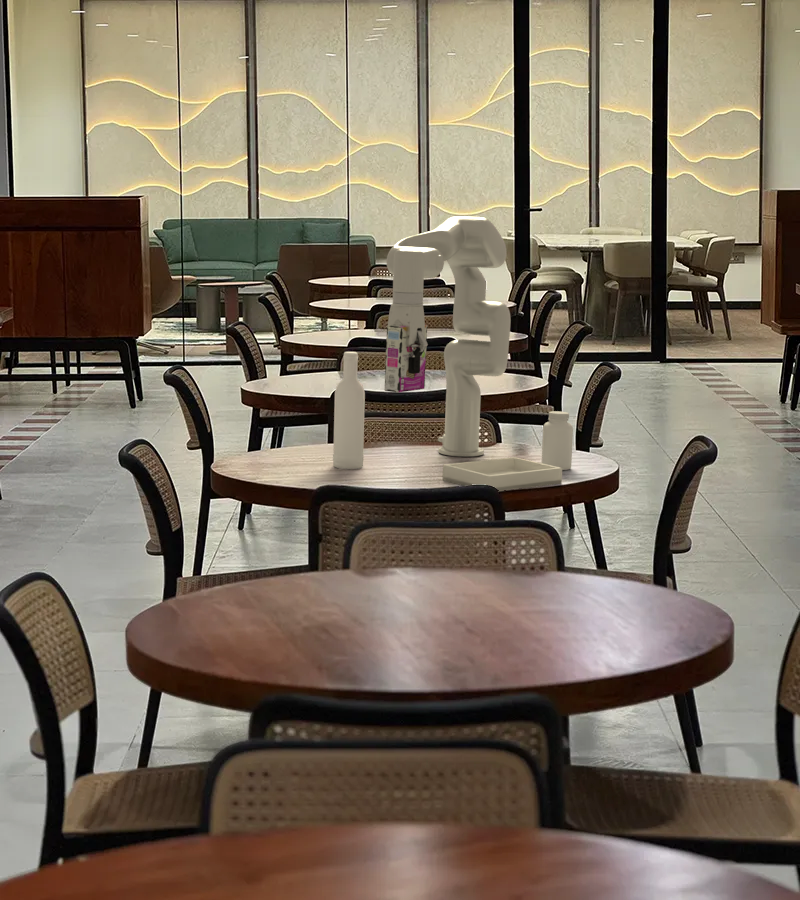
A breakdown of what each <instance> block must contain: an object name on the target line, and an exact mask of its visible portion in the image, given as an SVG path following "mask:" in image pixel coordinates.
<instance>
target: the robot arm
mask: <svg viewBox="0 0 800 900" xmlns="http://www.w3.org/2000/svg"><path fill="white" fill-rule="evenodd" d="M506 258H507V246H506V243H505V240H504V238H503V236H502V235H501V233H500V232H499V231H498V229H497V227H496V226H495V225H494V224H493V222H491V220H489V219H488V218H486V217H482V216H481V217H480V216H463V215H462V216H460V215H459V216H458V215H456V216H449V217H448V218H445V219H444V220H443V221H442V222H440V224H438V225H437V226H436V227H435V228H433V229H432V230H430V231H426V232H423V233H422V232H421V233H419V234H415V235H411V236H408V237H405V238H403V239H401V240H399V241H398V242H396V243H395V244H394V245H393V246H392V247H391V248H390V250H389V251H388V253H387V256H386V267H387V270H388V272H389V273H390V274H391V275H392V276H393V278H392V303H391V305H390V308H389V311H388V312H389V314H388V322H387V326H388V325H401V326H405V327H406V346H409V351H410V356H411V357H409V368H408V372H409V373H410V374H414V373H420V357H422V353H423V352H424V350H425V348H426V349H427V347H428V345H429V344H428V342H427V341H426V340H425V325H426V324H425V312H424V311H425V310H424V306H423V305H424V281H425V280H424V278H425V279H431V278H435V277H438V276H440V274H441V273H442V271H443V270H444V265H445V261H447V264H448V266H449V268H450V269H451V272H452V274H453V278H454V287H455V288H454V298H453V311H452V313H453V314H452V325H453V326H452V327H453V330H454V331H455V332H456V333H458V334H461V335H467V336H468V335H469V336H481V337H482V336H484V337H489V339H490V341H489V340H488V341H487V340H479V339H478V340H477V339H463V338H462V339H461V338H460V339H454V340H451V341H450V342H449V343H447V344H446V346H445V348H444V351H443V358H444V359H443V360H444V367H445V368H444V369H445V378H446V379H445V380H446V381H445V383H446V390H445V391H446V393H445V416H444V417H445V419H444V420H445V421H444V434H442V436H439V437H438V438H437V441H438V442H440V443H442V446H440V447H438V453H440V454H442V455H446V456H452V457H478V456H482V455H484V453H485V449H483V448H481V447H479V445H480V444H479V443H480V442H479V441H480V423H481V422H480V417H481V415H480V414H481V399H482V397H481V393H482V392H481V388H480V387H481V386H479V383H478V382H477V380H476V379H475V377H474V376H484V377H500V376H503V374H505V371H507V370H506V369H507V365H508V360H509V348H510V347H509V346H510V335H511V321H512V320H511V312H510V309H509V307H508V305H506V304H505V303H504V302H500V301H491V300H486V293H487V281H486V278H485V277H484V275H483V273H482V271H481V270H480V269H481V268H484V269H496V268H500V267H502V265H503V264H504V263H505V261H506ZM479 268H480V269H479ZM385 338H386V339H387V337H385ZM414 343H416V344H414ZM412 344H414V345H412ZM414 348H416V350H415V351H414Z"/></svg>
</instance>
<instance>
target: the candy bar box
mask: <svg viewBox="0 0 800 900" xmlns="http://www.w3.org/2000/svg"><path fill="white" fill-rule="evenodd" d="M386 338H387V339H386V341H385V343H386V346H385V365H384V366H385V370H384V389H383V390H384V392H391V393H397V394H398V393H404V392H412V391H419V390H425V386H426V385H425V383H426V382H425V381H426V363H427V362H426V361H427V347H426V348H425V350H424V352H423V353H422V357H420V373H414V374H410V373H409V372H408V368H409V357H411V356H410V351H409V346H406V327H405V326H401V325H388V324H387V325H386ZM425 340H426V341H427V340H428V324H425ZM414 344H416V343H414ZM414 344H412V345H414ZM415 350H416V348H414V351H415Z"/></svg>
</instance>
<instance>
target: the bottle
mask: <svg viewBox="0 0 800 900" xmlns="http://www.w3.org/2000/svg"><path fill="white" fill-rule="evenodd" d="M342 357H343V358H342V360H343V367H342V368H343V372H342V373H343V374H342V379H341V381H339V382H338V383H337V385H336V387H335V391H334V410H333V411H334V412H333V416H334V417H333V420H334V421H333V453H332V462H333V464H332V466H333V468H336V469H341V470H356V469H357V470H358V469H359V470H360V469H362V468H363V467H364V458H365V457H364V443H365V442H364V439H365V438H364V437H365V433H364V432H365V402H366V401H365V399H366V392H365V388H364V386H363V384H362V383H361V382H360V380H359V379H358V364H359V362H358V361H359V353H358V352H356V351H344V353H343V356H342Z"/></svg>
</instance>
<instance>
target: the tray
mask: <svg viewBox="0 0 800 900" xmlns="http://www.w3.org/2000/svg"><path fill="white" fill-rule="evenodd" d="M562 477H563V470H562V468H560V467H556V466H551V465H547V464H543V463H542V462H539V461H533V460H529V459H524V458H521V457H517V456H511V457H504V458H492V459H483V460H476V461H466V462H456V463H445V464H442V481H444V482H448V483H452V484H454V485H459V486H462V485H472V484H486V485H491V486H494V487H496V488H497V489H498V490H499V491H498V492H505V491H504V490H506V491H512V490H511V489H514V490H520V489H519V488H522V489H529V487H530V488H536V486H538V487H545V486H546V487H547V486H551V485H552V486H553V485H554V486H555V485H561V484H562V483H563V482H562V479H563V478H562Z"/></svg>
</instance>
